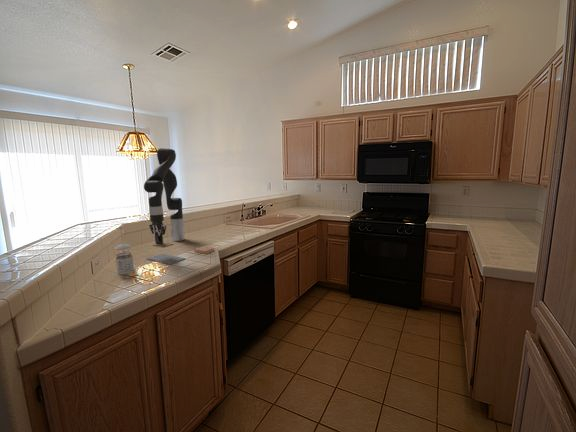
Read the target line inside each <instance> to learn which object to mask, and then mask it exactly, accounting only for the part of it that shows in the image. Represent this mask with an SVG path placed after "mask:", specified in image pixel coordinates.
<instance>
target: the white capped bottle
mask: <svg viewBox="0 0 576 432" xmlns="http://www.w3.org/2000/svg"><path fill="white" fill-rule="evenodd" d="M122 229H124V228H123V226H119V227H118V230H122ZM120 236H121V238H123V233H122V231H120ZM121 241H122V242H121V243H120V244H118V245H116V246H115V247H114V250H115V251H122V252H120V253H117V254H116V258H115V261H116V263H115V264H116V272H115V275H127V274H131V273H133V272H136V268H135V266H134V261H133V260H134V259H133V255H132V252H130V251H129V250H127V249H130V248H131V247H132V245H131V244H129V243H123V242H124V241H123V240H121ZM125 250H127V252H126V251H125Z"/></svg>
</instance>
